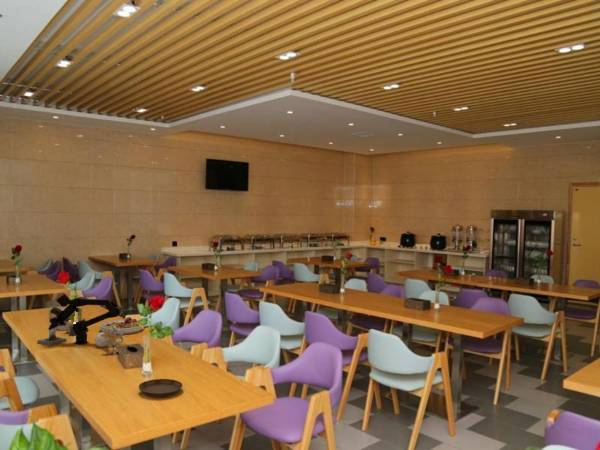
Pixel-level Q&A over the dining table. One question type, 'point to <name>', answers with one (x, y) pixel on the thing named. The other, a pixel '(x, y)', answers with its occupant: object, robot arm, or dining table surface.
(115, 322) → the bowl
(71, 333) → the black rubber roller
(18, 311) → the dining table surface
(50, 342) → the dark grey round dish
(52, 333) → the steel roller
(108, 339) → the flower vase
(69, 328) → the brass bushing
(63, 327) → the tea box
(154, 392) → the plant saucer
